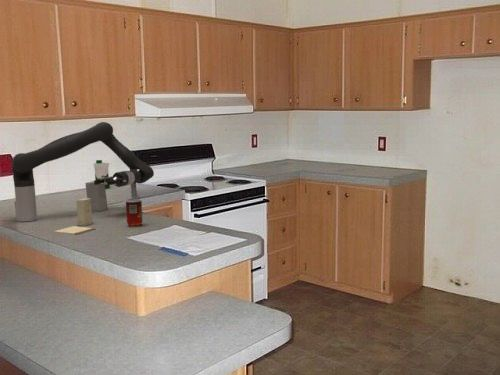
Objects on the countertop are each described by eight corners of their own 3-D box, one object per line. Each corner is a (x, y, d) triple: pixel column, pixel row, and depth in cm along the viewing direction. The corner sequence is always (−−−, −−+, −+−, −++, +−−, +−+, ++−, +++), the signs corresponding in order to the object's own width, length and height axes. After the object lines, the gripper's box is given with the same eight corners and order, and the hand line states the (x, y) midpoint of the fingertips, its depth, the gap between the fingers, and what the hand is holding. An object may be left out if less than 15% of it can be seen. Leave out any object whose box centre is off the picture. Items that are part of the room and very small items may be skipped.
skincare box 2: (108, 209, 287) (106, 180, 285) (99, 211, 281) (97, 182, 278) (95, 208, 291) (94, 180, 288) (86, 210, 284) (84, 181, 282)
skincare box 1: (86, 226, 245) (84, 200, 243) (77, 225, 246) (75, 200, 244) (92, 223, 251) (91, 198, 249) (84, 223, 252) (82, 197, 250)
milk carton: (103, 187, 376) (101, 159, 373) (112, 188, 371) (110, 160, 369) (93, 189, 369) (91, 160, 366) (102, 189, 364) (100, 161, 361)
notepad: (54, 232, 233) (54, 230, 233) (73, 227, 243) (73, 226, 243) (77, 234, 227) (77, 233, 227) (95, 229, 237) (95, 228, 237)
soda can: (143, 226, 241) (142, 199, 239) (127, 227, 239) (126, 201, 237) (142, 223, 248) (140, 197, 246) (126, 224, 246) (125, 198, 244)
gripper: (112, 171, 273) (89, 174, 259) (134, 171, 266) (111, 175, 252) (113, 185, 274) (90, 190, 260) (135, 186, 267) (112, 191, 253)
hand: (101, 182), depth 256 cm, fingers open, 8 cm apart
